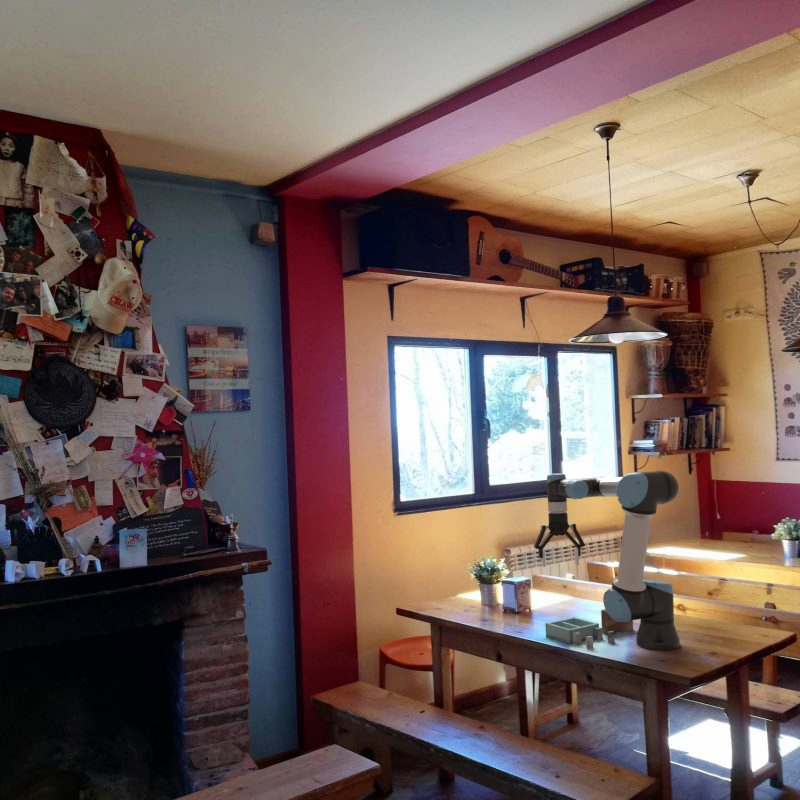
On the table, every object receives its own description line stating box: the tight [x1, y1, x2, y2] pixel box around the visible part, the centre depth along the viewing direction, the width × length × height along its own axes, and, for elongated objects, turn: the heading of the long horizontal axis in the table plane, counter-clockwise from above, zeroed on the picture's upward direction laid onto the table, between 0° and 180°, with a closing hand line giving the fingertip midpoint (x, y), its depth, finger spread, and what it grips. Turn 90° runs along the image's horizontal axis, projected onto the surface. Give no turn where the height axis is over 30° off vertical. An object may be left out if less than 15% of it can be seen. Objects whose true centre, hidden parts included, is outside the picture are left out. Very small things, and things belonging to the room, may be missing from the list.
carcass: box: [545, 616, 600, 645], centre depth 300 cm, size 13×15×5 cm
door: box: [600, 608, 634, 636], centre depth 306 cm, size 4×14×9 cm, turn 122°
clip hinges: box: [571, 626, 616, 650], centre depth 291 cm, size 8×13×4 cm, turn 122°
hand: (560, 565), depth 317 cm, fingers open, 13 cm apart
